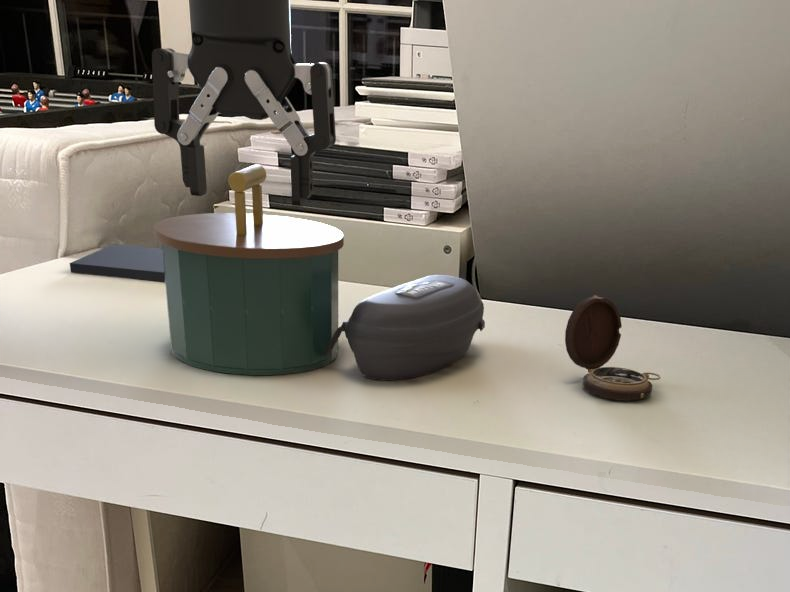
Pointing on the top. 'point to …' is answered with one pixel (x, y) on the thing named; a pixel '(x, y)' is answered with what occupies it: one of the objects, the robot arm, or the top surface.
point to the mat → (123, 263)
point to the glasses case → (413, 327)
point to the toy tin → (251, 311)
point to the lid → (248, 228)
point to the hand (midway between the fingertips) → (249, 199)
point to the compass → (602, 351)
